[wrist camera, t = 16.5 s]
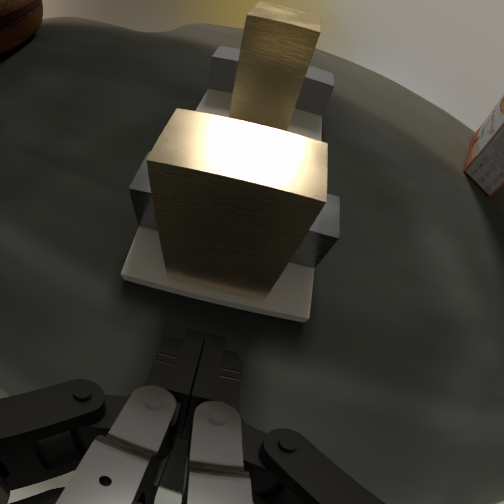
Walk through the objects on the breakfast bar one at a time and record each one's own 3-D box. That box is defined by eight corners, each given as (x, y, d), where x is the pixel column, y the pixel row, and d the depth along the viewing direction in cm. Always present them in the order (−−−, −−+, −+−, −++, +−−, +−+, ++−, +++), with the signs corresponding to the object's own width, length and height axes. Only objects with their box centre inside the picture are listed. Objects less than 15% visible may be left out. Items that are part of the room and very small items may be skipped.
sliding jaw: (123, 266, 18) (73, 148, 9) (153, 191, 21) (141, 68, 12) (310, 310, 18) (402, 226, 10) (317, 230, 21) (384, 125, 13)
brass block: (227, 129, 25) (247, 14, 15) (239, 100, 27) (259, 1, 18) (282, 143, 25) (320, 32, 16) (288, 112, 28) (320, 16, 18)
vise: (123, 279, 18) (104, 242, 14) (214, 83, 30) (219, 45, 26) (304, 322, 19) (335, 297, 15) (319, 108, 31) (333, 73, 26)
